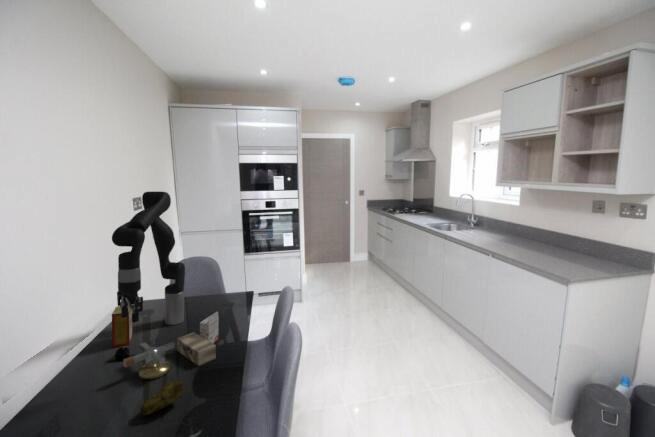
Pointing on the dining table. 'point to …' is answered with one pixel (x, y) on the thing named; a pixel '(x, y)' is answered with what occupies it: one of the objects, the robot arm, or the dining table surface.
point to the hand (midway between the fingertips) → (130, 319)
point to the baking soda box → (121, 328)
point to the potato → (163, 397)
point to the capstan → (151, 361)
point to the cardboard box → (196, 348)
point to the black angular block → (120, 355)
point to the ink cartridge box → (210, 328)
